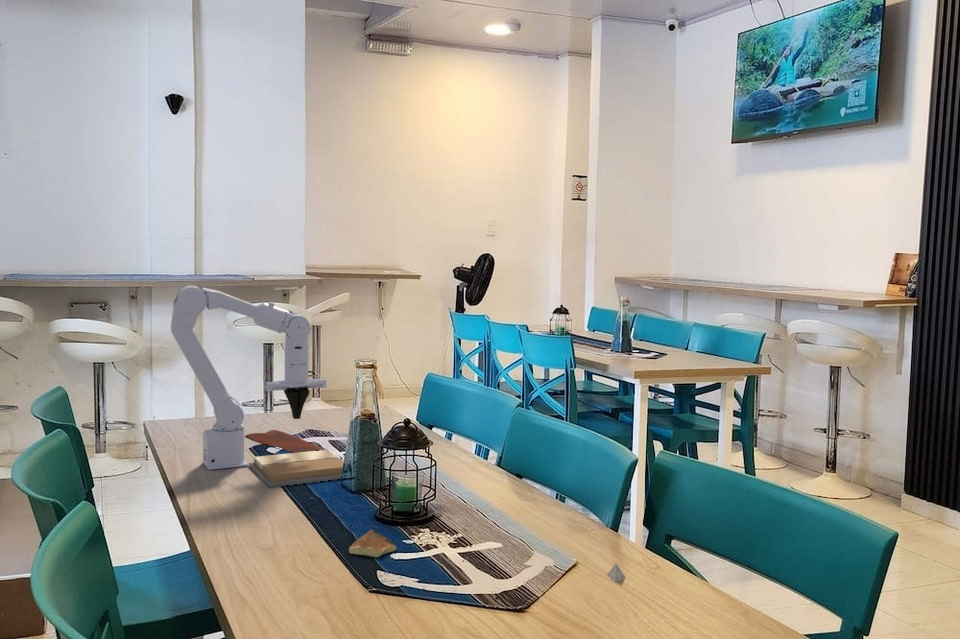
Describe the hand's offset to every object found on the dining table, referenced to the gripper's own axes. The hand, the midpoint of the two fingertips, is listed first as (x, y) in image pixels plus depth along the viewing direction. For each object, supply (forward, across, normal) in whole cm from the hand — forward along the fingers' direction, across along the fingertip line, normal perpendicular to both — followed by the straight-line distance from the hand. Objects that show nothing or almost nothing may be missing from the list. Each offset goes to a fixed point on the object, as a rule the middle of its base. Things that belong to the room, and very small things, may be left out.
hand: (296, 418), depth 217 cm
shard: (+11, -5, -64) cm, 65 cm away
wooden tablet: (+11, +2, +18) cm, 21 cm away
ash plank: (+9, -2, -7) cm, 12 cm away
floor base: (+10, -2, -11) cm, 15 cm away
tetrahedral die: (+11, +28, -94) cm, 99 cm away
